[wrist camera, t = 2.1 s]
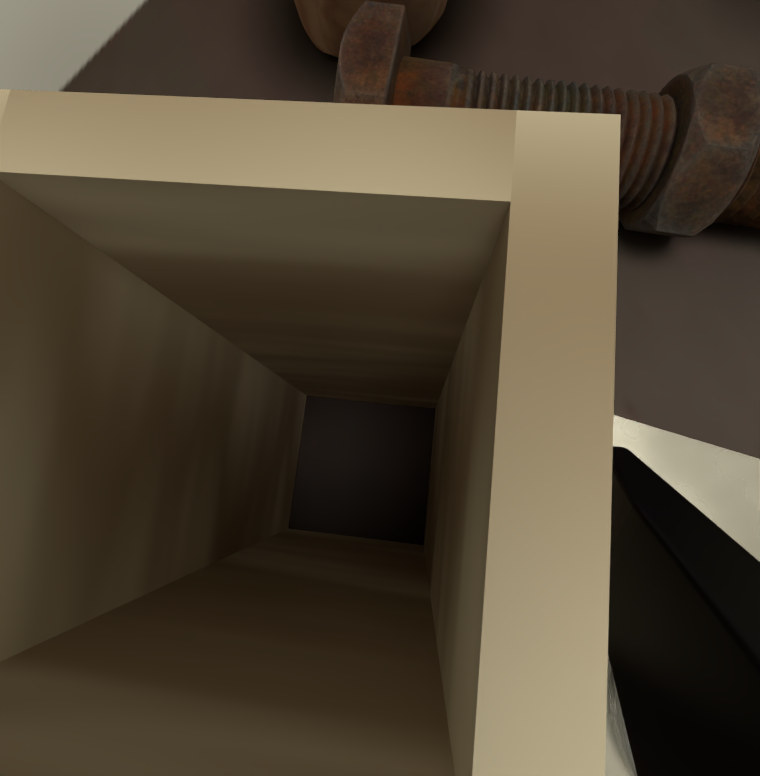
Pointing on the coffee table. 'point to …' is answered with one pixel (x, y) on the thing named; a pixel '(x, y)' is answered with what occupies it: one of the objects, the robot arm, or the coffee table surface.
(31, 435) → the sleeve
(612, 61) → the coffee table surface
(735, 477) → the square metal plate
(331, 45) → the cupcake
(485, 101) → the bolt
